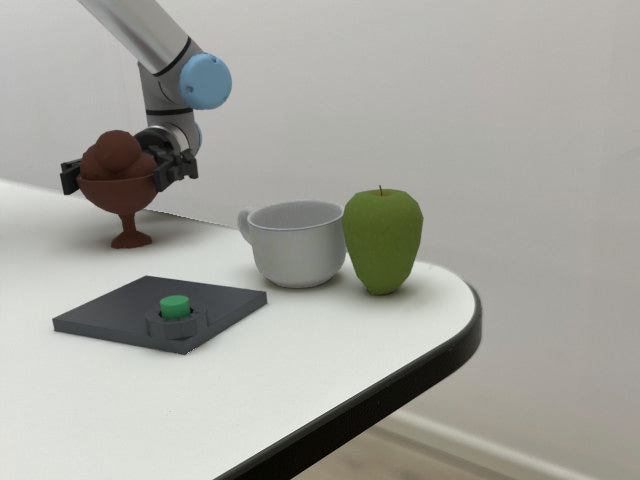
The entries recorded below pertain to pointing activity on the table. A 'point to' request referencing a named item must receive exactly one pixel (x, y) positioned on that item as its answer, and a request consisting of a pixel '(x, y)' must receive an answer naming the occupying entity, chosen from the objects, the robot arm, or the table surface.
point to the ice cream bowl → (119, 182)
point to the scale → (146, 318)
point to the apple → (382, 237)
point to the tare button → (175, 307)
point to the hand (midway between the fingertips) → (110, 183)
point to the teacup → (295, 240)
